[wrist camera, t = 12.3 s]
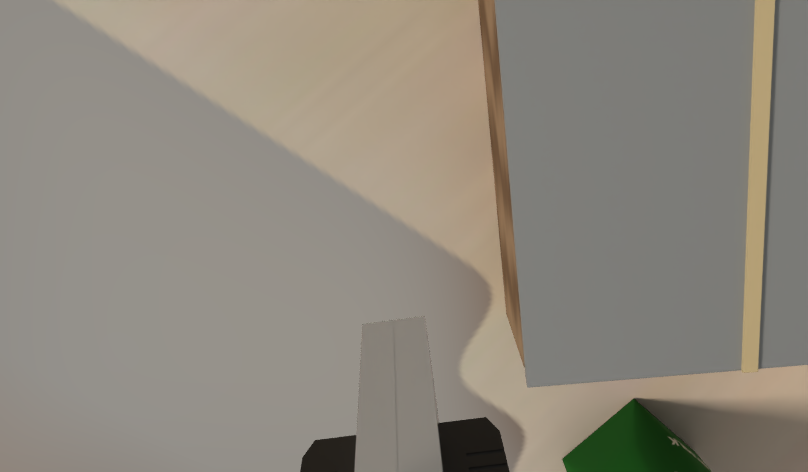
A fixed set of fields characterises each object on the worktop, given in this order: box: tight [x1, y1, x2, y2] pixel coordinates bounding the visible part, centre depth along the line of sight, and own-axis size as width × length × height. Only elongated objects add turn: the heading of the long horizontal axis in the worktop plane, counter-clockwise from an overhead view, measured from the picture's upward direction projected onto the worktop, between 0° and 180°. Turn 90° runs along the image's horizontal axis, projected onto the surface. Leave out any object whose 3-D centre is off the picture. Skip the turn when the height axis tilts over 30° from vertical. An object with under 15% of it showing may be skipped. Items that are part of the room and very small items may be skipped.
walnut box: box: [478, 0, 525, 367], centre depth 44 cm, size 22×16×7 cm
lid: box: [494, 0, 808, 388], centre depth 40 cm, size 23×17×2 cm
